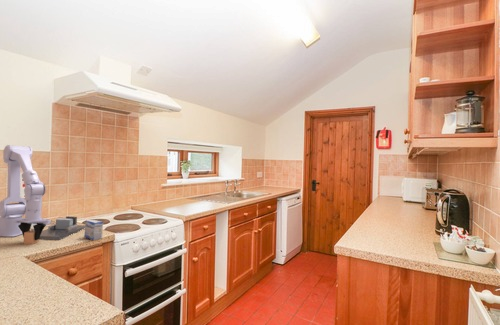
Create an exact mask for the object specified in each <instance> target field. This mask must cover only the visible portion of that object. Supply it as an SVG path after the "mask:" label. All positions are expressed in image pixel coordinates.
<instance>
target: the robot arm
mask: <svg viewBox="0 0 500 325" xmlns="http://www.w3.org/2000/svg"><path fill="white" fill-rule="evenodd" d="M2 151H3V152H2V153H3V158H2V159H3V162H4V163H6V165H7V182H6V183H7V184H6V185H7V187H6V188H7V194H6V195H7V196H6V197H5V198H3V199H2V200H1V201H0V237H7V238H8V237H9V238H12V237H13V238H14V237H17V236H21V235H22V237H23V238H24V232H27V231H30V230H31V229H32V228H31V227H32V226H33V229H34V233H35V234H34V239H35V240H38V239H39V238H40V235H41V233H42V231H44V230H45V227H46V226H47V225H51V223H52V220H51V219H47V218H42V206H43V205H42V204H43V196H45V194H46V185H45V184H44V183H43V181H41V180H40V178H39V175H38V172H37V171H36V170H34V169H33V165H32V161H31V159H32V157H33V154H34V152H33V151H34V150H33V148H32V146H21V145H10V144H6V145H5V147H4V149H3V150H2ZM21 170H22V173H21ZM21 179H22V182H23V184H24V188H23V193H24V197H22V196H21ZM39 240H40V239H39Z"/></svg>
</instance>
